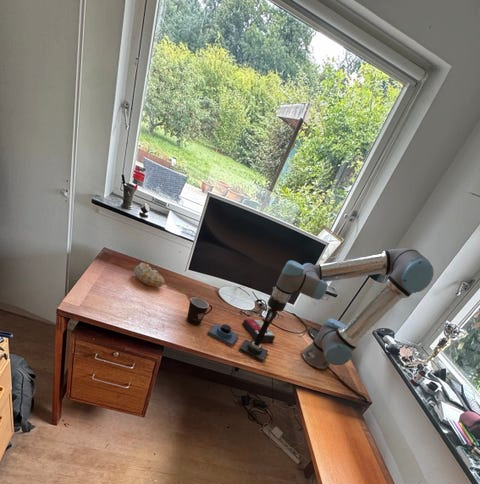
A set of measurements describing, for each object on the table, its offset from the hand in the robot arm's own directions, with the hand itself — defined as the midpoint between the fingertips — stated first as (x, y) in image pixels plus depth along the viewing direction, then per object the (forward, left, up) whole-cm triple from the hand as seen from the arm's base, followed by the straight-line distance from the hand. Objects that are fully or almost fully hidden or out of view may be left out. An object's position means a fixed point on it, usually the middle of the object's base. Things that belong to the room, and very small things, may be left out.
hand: (256, 344), depth 158 cm
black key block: (0, 0, -4) cm, 4 cm away
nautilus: (+64, -15, -5) cm, 66 cm away
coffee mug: (+30, 0, -5) cm, 30 cm away
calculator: (+3, -19, -5) cm, 20 cm away
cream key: (0, 0, -2) cm, 2 cm away
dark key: (+16, 0, -1) cm, 16 cm away
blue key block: (+16, 0, -4) cm, 17 cm away
